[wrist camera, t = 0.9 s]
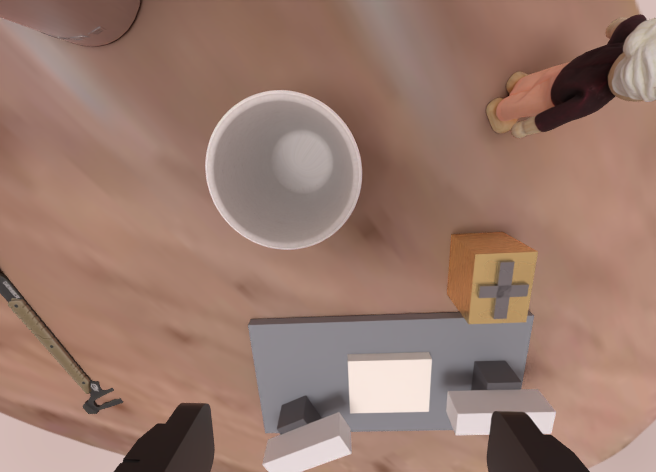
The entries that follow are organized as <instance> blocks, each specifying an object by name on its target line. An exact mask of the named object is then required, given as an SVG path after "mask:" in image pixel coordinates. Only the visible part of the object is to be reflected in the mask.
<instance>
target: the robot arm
mask: <svg viewBox="0 0 656 472" xmlns="http://www.w3.org/2000/svg"><path fill="white" fill-rule="evenodd" d="M139 5H140V0H0V17H1V18H4V19H7V20H10V21H12V22H15V23H18V24H21V25H24V26H26V27H29V28H32V29H35V30H38V31H40V32H42V33H44V34H47V35H50V36H52V37H55V38H58V39H63V40H66V41H68V42H71V43H75V44H79V45H82V46H100V45H105V44H109V43H111V42H113V41H115V40H116V39H118V38H120V37H121V36H122V35H123V34H124V33H125V32H126V31H127V30H128V29H129V27H130V26H131V24H132V22H133V21H134V19H135V17H136V14H137V11H138V8H139ZM213 459H214V437H213V428H212V418H211V409H210V406H209V404H204V403H181V404H180V405H178V407H177V408H176V409H175V411H174V412H173V414H172V415H171V416H170V418H169V419H168V421H167V422H166V424H156V425H155V426H154V427H153V428H152V429H150V430H149V431H148V432H147V433H145V434H144V435H143V436H142V437H141V438H139V439H138V440H137V442H136V443H135V444H134V446H133V447H132V448H131V450H130V451H129V452H128V454H127V455H126V456H125V458H124V459H123V462H122V463H120V464H119V466H118V467H117V468H116V470H115V471H114V472H210V471H211V468H212V464H213ZM487 466H488V471H489V472H590V471H589V470H588V469H587V468H586V467H585V465H584V464H583V463H582V462H581V461H580V459H579V458H578V457H577V456H576V455H575V453H574V452H572V451H571V450H570V449H569V448H567V447H566V446H565V445H563V444H562V443H561V442H560V441H558V440H557V439H556V438H555V437H553V436H552V435H544V434H543V433H542V432H541V431H540V429H539V428H538V427H537V426H536V424H535V423H534V422H533V420H532V419H531V418H530V417H529V415H527V414H526V413H525V412H513V411H494V412H493V414H492V417H491V425H490V433H489V441H488V449H487Z"/></svg>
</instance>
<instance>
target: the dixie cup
mask: <svg viewBox="0 0 656 472" xmlns="http://www.w3.org/2000/svg"><path fill="white" fill-rule="evenodd" d="M205 170H206V179H207V184H208V188H209V192H210V195H211V197H212V200H213V202H214V204H215V206H216V207H217V209H218V211H219V212H220V214H221V215H222V217H223V218H224V219H225V220H226V221H227V223H228V224H229V225H230V226H231V227H232V228H233V229H235V230H236V231H237V232H238V233H240V234H241V235H242V236H244V237H245V238H247V239H249V240H251V241H253V242H255V243H257V244H260V245H262V246H265V247H269V248H274V249H282V250H293V249H301V248H306V247H309V246H312V245H315V244H317V243H320V242H322V241H324V240H325V239H327V238H329V237H330V236H331V235H333V234H334V233H335V232H336V231H338V230H339V229H340V228H341V227H342V226H343V224H344V223H345V222H346V221H347V219H348V218H349V216H350V215H351V213H352V212H353V210H354V208H355V206H356V203H357V200H358V198H359V194H360V190H361V184H362V164H361V157H360V153H359V150H358V146H357V144H356V141H355V139H354V137H353V135H352V133H351V131H350V130H349V128H348V127H347V125H346V124H345V122H344V121H343V120H342V119H341V118H340V117H339V116H338V114H336V113H335V112H334V111H333V110H332V109H331V108H330V107H328V106H327V105H326V104H324V103H322V102H321V101H319V100H317V99H315V98H313V97H311V96H309V95H306V94H303V93H299V92H295V91H288V90H272V91H266V92H261V93H258V94H255V95H252V96H250V97H248V98H246V99H244V100H242V101H240V102H239V103H237V104H236V105H235V106H233V107H232V108H231V109H230V110H229V111H228V112H227V113H226V114H225V115H224V116H223V117H222V119H221V120H220V121H219V123H218V124H217V126H216V127H215V129H214V131H213V133H212V136H211V138H210V141H209V144H208V148H207V153H206V163H205Z"/></svg>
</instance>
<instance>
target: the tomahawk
mask: <svg viewBox="0 0 656 472" xmlns="http://www.w3.org/2000/svg"><path fill="white" fill-rule="evenodd" d="M0 294H1V295H2V296H3V297H4V298H5V299H6V300H7V301H8V306H9V307H10V308H12V311H13V312H14V313H15V314H17V316H18V318H19V319H21V320H22V322H23V323H24V324H25V325H26V327H27V328H28V329H29V330H31V332H32V333H33V334H35V336H36V338H37V339H38V340H39V341H40V342H41V343H42V344H43V345H44V347H45V348H46V349H47V350H48V351H49V352H50V353H51V354H52V356H53V357H54V358H55V359H56V360H57V361H58V362H59V363H60V365H61V366H62V367H63V368H64V369H65V370H66V371H67V373H68V374H69V375H70V376H71V377H72V378H73V379H74V380H75V382H76V383H77V384H78V385H79V386H80V387H81V388H82V389H83V391H84V392H85V393H86V394H89V393H90V394H91V397H90V399H89V400H87V401H86V402H85V404H84V405H83V408H84V409H85V411H86V412H87V413H88V414H97V413H98V412H99V410H101V409H105V408H108V407H111V406H114V405H117V404H120V403H123V401H122V400H121V398H120V399H114V400H112V401H110V402H106V403H104V404H102V405H97V404H96V403H95V400H96V399H98V398H100V397H101V396H103V395H105V394H107V393H109V392H112V391H114V389H113V388H111V389H108V390H102V389H101V387H100V384H99V382H98V381H92V380H91V379H90V378H89V376H88V375H86V373H85V372H84V371H83V369H82V368H80V366H79V365H78V364H77V362H75V360H74V359H73V357H72V356H71V355H70V354H69V353H68V351H67V350H66V349H65V348H64V346H63V345H62V344H61V343H60V341H59V340H58V339H57V338H56V337H55V335H54V334H53V333H52V332H51V330H50V329H49V328H48V327H47V326H46V324H45V323H44V322H43V321H42V320H41V318H40V317H39V316H38V315H37V313H36V312H35V311H34V310H33V309H32V307H31V306H30V305H29V304H28V302H27V301H26V300H25V299H24V297H23V296H22V295H21V294H20V293H19V291H18V290H17V289H16V288H15V286H14V285H13V284H12V283H11V281H10V280H9V279H8V278H7V277H6V276H5V275H4V274H2V273H0Z"/></svg>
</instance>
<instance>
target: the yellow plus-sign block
mask: <svg viewBox="0 0 656 472" xmlns="http://www.w3.org/2000/svg"><path fill="white" fill-rule="evenodd" d="M537 254H538V252H537V251H536V250H534V249H532V248H530V247H529V246H527V245H525V244H523V243H522V242H520V241H518V240H516V239H514V238H513V237H511V236H509V235H507V234H506V233H504V232H491V233H469V234H451V246H450V260H449V274H448V288H447V295H448V296H449V298H450V299H451V300H452V302H453V303H454V305H455V306H456V307H457V309H458V310H459V312H460V313H461V314H462V316H463V317H464V319H465V320H466V322H467V323H468V324H492V323H522V322H526V320H527V314H528V308H529V302H530V296H531V290H532V284H533V278H534V272H535V266H536V260H537Z"/></svg>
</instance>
